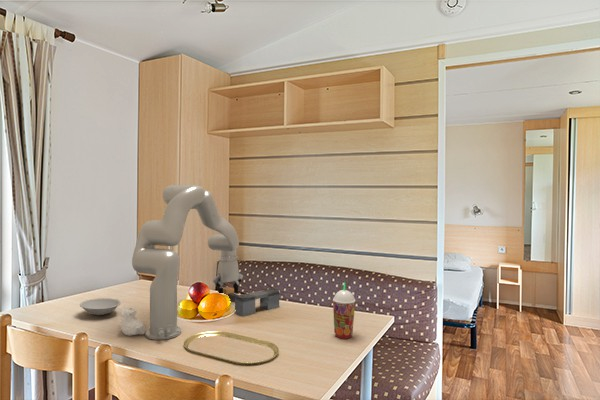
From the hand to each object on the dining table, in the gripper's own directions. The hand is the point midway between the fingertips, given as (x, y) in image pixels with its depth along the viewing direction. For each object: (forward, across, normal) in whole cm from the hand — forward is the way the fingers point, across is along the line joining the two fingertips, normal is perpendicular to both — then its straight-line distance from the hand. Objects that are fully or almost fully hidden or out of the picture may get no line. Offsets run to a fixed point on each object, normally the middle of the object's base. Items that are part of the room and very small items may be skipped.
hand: (228, 294), depth 200 cm
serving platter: (+3, +32, +52) cm, 62 cm away
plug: (+2, 0, +7) cm, 8 cm away
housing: (+2, 0, +24) cm, 24 cm away
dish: (+2, +55, -13) cm, 56 cm away
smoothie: (+2, -6, +70) cm, 70 cm away
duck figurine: (+2, +53, +18) cm, 56 cm away
